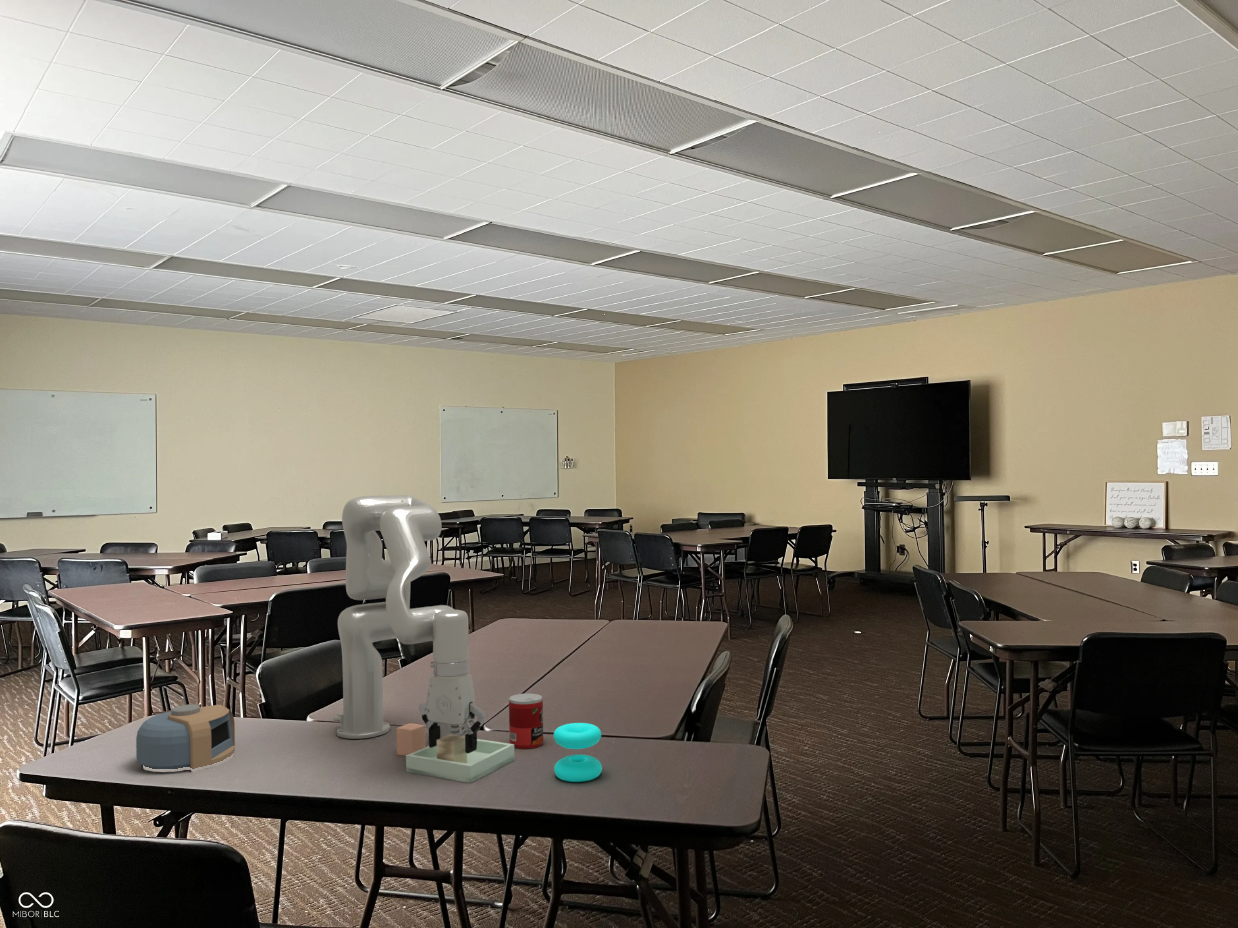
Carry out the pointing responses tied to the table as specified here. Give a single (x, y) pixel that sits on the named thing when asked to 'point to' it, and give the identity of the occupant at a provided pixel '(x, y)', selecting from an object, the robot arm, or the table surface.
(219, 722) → the alarm clock
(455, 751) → the birch block
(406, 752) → the terracotta block
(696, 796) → the table surface
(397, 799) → the table surface
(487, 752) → the tray
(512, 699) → the canned food
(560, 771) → the donuts
